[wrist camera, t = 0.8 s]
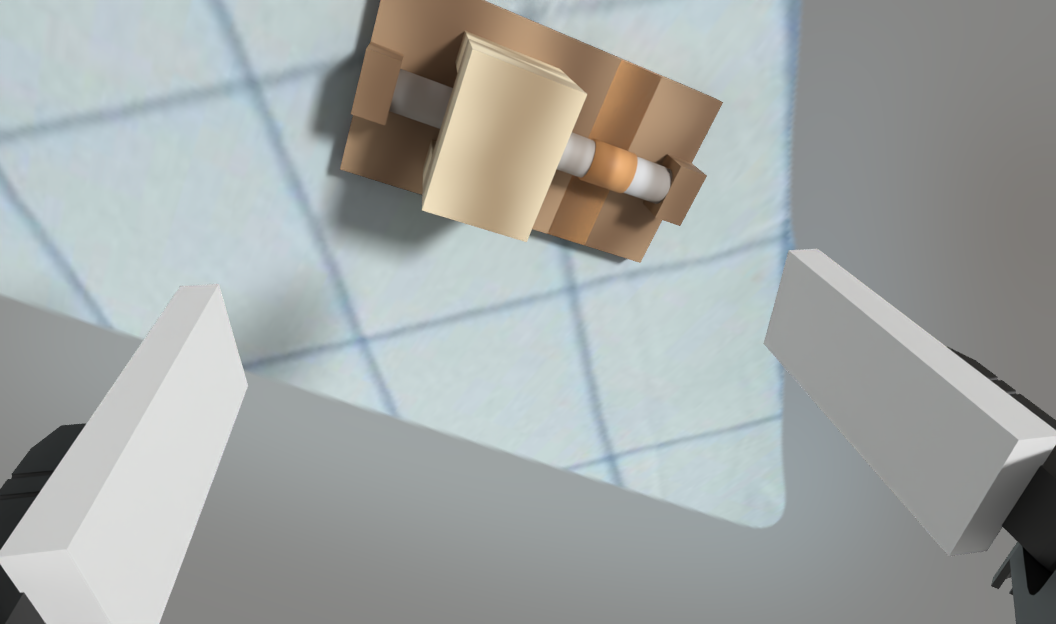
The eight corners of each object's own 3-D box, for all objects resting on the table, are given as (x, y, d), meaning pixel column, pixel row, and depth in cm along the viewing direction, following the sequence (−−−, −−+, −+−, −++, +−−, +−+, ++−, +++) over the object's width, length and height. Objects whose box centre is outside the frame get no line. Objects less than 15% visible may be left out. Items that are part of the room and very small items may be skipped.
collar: (423, 167, 32) (421, 210, 26) (464, 30, 29) (472, 49, 23) (511, 195, 33) (526, 241, 28) (559, 68, 30) (587, 94, 25)
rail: (342, 162, 32) (334, 184, 29) (391, -40, 28) (386, -38, 25) (634, 254, 38) (652, 280, 35) (713, 97, 33) (741, 112, 30)
